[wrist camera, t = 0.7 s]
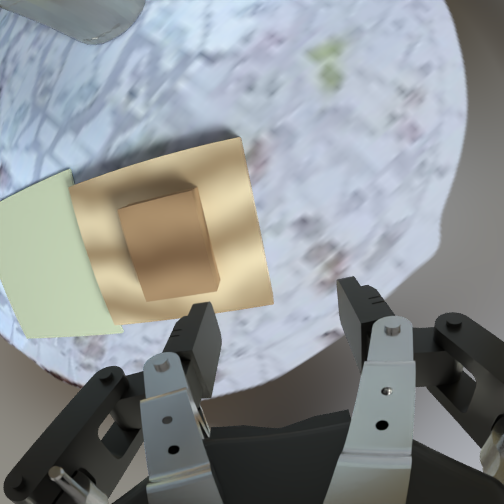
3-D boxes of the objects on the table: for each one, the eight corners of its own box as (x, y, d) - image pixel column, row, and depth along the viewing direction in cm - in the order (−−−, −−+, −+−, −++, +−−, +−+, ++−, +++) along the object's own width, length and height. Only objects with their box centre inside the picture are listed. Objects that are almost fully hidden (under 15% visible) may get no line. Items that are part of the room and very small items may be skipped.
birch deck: (78, 184, 29) (68, 187, 27) (241, 137, 27) (239, 137, 25) (121, 316, 33) (114, 325, 32) (273, 294, 32) (273, 304, 30)
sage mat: (-19, 212, 30) (-20, 212, 29) (70, 168, 28) (68, 168, 28) (28, 337, 36) (26, 338, 36) (123, 331, 34) (122, 332, 34)
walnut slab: (128, 204, 27) (117, 209, 25) (197, 187, 26) (191, 190, 24) (154, 290, 30) (146, 302, 28) (220, 279, 29) (216, 291, 27)
